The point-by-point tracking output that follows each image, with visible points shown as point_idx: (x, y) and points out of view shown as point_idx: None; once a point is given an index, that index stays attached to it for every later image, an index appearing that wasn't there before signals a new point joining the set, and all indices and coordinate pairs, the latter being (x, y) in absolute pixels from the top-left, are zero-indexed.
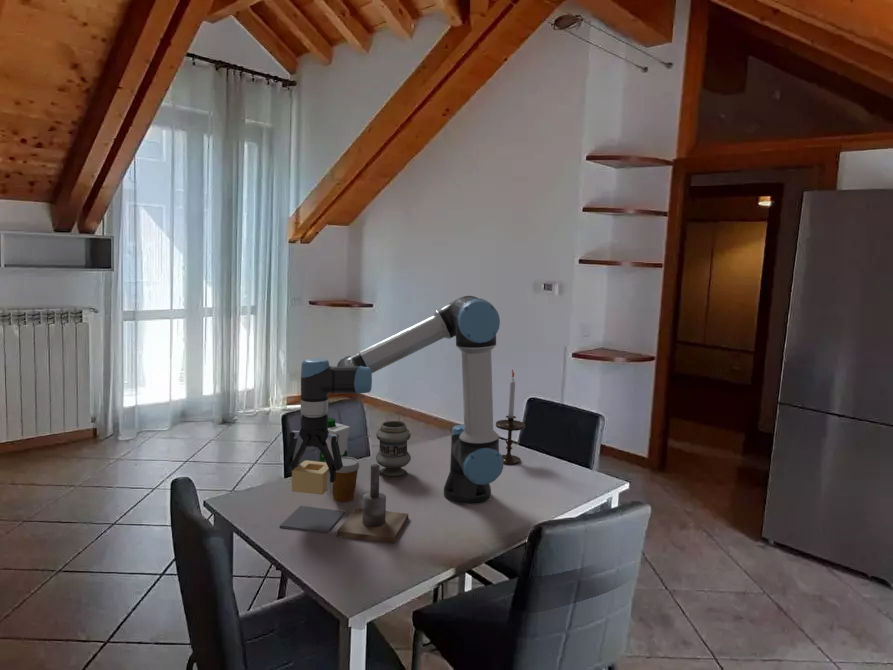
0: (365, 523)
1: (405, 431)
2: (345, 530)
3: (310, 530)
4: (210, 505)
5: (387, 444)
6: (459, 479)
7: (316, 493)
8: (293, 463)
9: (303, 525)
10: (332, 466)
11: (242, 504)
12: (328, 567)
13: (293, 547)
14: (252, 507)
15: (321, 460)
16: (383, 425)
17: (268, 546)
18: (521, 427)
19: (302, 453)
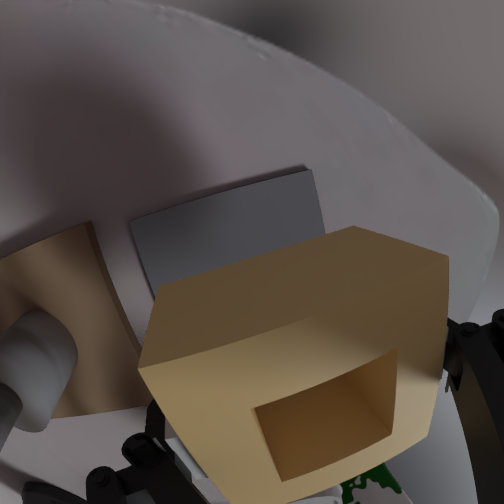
0: (41, 315)
1: None
2: (64, 244)
3: (194, 200)
4: (494, 203)
5: None
6: None
7: (198, 274)
8: (478, 341)
9: (239, 213)
10: (146, 487)
11: (460, 245)
12: (21, 60)
13: (169, 74)
14: (439, 244)
15: (386, 478)
16: None
17: (248, 46)
18: None
19: (484, 440)
